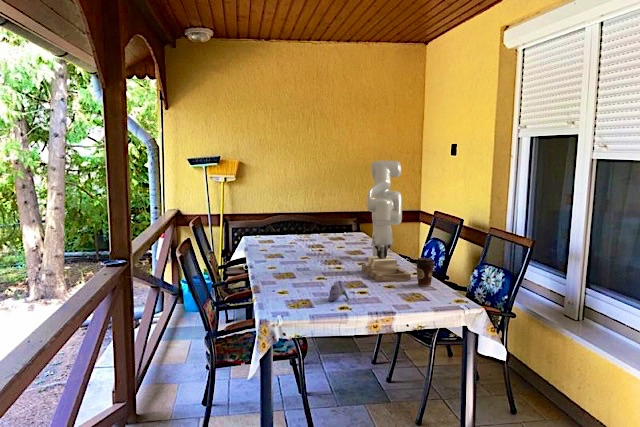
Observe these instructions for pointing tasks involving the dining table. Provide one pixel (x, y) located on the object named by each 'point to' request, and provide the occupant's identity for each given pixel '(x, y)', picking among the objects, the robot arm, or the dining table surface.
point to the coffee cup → (424, 271)
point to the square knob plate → (382, 263)
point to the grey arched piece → (337, 291)
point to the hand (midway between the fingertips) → (382, 257)
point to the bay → (387, 275)
